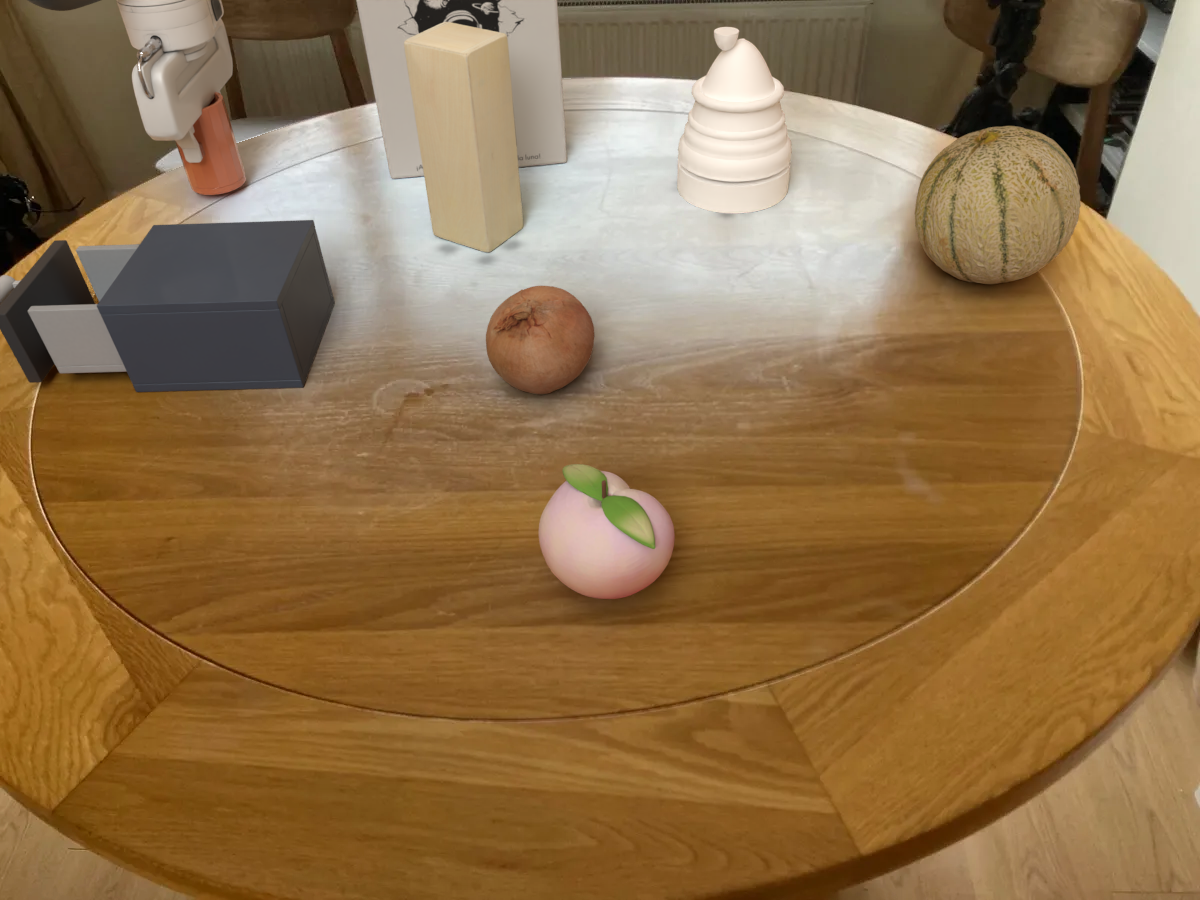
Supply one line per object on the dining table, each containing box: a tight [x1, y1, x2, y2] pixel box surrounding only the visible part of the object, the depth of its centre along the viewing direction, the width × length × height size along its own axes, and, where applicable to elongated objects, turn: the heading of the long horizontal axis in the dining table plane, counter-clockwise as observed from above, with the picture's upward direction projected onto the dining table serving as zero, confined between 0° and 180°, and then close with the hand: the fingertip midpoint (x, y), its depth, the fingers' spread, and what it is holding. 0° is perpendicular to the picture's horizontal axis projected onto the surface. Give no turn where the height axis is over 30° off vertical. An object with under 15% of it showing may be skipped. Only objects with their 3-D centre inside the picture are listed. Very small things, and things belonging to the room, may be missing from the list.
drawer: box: [0, 239, 140, 384], centre depth 89 cm, size 19×13×7 cm
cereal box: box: [355, 0, 568, 180], centre depth 112 cm, size 22×8×25 cm, turn 98°
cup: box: [174, 92, 247, 196], centre depth 112 cm, size 6×6×10 cm
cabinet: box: [96, 219, 336, 393], centre depth 89 cm, size 15×14×9 cm
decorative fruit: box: [538, 463, 676, 600], centre depth 65 cm, size 9×8×10 cm
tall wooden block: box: [404, 22, 524, 253], centre depth 100 cm, size 8×7×21 cm
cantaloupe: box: [914, 125, 1081, 285], centre depth 92 cm, size 15×15×15 cm
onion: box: [485, 285, 595, 395], centre depth 83 cm, size 10×9×10 cm
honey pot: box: [676, 26, 793, 215], centre depth 106 cm, size 13×13×18 cm
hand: (207, 145), depth 113 cm, fingers closed on cup, 6 cm apart
